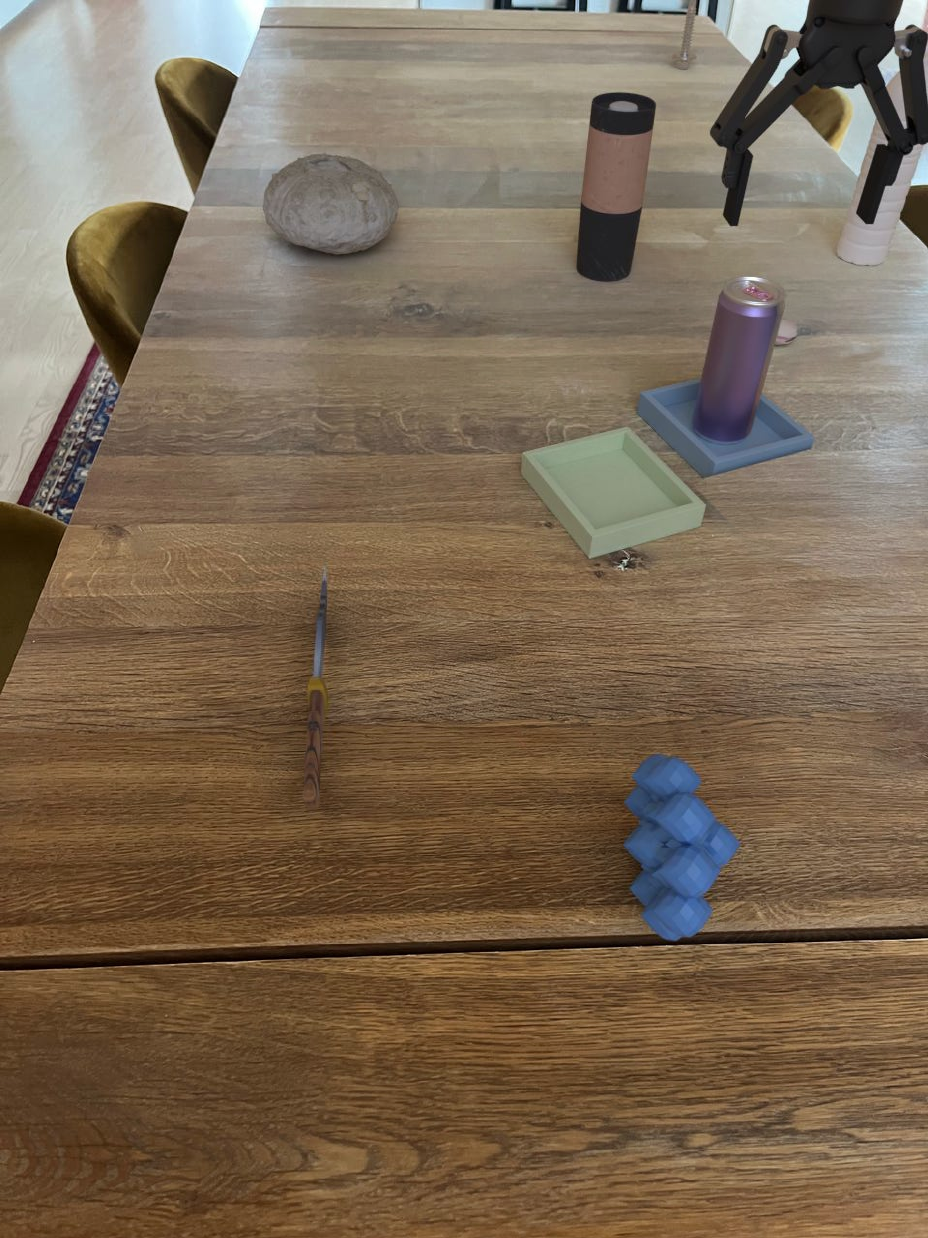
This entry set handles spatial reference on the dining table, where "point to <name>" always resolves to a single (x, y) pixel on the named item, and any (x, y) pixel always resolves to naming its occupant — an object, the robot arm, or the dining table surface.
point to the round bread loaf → (330, 204)
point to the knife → (316, 709)
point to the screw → (686, 40)
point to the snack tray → (611, 491)
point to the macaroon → (786, 332)
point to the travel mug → (614, 183)
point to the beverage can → (738, 358)
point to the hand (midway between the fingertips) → (797, 220)
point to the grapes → (674, 847)
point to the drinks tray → (673, 423)
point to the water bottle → (875, 239)
